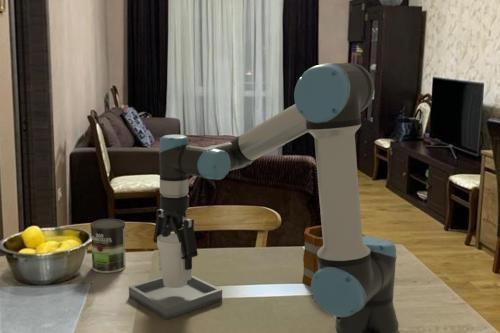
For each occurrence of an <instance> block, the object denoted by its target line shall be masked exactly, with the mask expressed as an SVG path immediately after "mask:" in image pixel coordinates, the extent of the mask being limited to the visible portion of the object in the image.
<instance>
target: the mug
mask: <svg viewBox="0 0 500 333" xmlns="http://www.w3.org/2000/svg"><path fill="white" fill-rule="evenodd" d="M362 236H365V235H364V234H362ZM303 237H304V248H303V249H304V250H303V257H302V258H303V262H302V263H303V275H302V281H301V283H302V284H304V285H306V286H308V287H310V288H311V281H312V278H313V276H314V274H315V273H316V272H317V271H318V259H317V252H318V250H319V249H320V248H321V247H322V246H323V236H322V224H321V225H315V226H311V227H310V226H309V227H306V228H305V230H304V233H303Z"/></svg>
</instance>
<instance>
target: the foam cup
mask: <svg viewBox="0 0 500 333" xmlns="http://www.w3.org/2000/svg"><path fill="white" fill-rule="evenodd" d="M156 246H157V249H158V257H159V256H160V263H161V270H162V271H161V270H160V271H161V277H163V282H164V286H166V287H169V288H180V287H183V286H186V284H187V281H185V282H182V281H181V257H183V254H182V251H181V243H180V242H179V240H178V237H177V234H175V233H174V231H171V234H170V235H169V236H167V237H163V235H162V234H161V235H159V236H158V237H157V243H156Z"/></svg>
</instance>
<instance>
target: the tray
mask: <svg viewBox="0 0 500 333" xmlns="http://www.w3.org/2000/svg"><path fill="white" fill-rule="evenodd" d="M128 297H129V298H130V299H131V300H133V301H134V302H136V303H138V304H140V305H141V306H143V307H144V308H147V309H149V311H152V312H153V313H155V314H156V315H158V316H160V317H162V318H163V319H165V320H171V319H173V318H176V317H179V316H181V315H185V314H187V313H189V312H193V311H195V310H198V309H201V308H203V307H206V306H209V305H212V304H214V303H215V304H216V303H218V302H221V301H223V289H221V288H220V287H217V286H215V285H213V284H211V283H209V282H207V281H205V280H203V279H201V278H199V277H196V275H195V276H194V275H193V274H191V280H188V281H187V284H186V286H183V287H180V288H169V287H166V286H164V282H163V277H162V276H160V277H157V278H153V279H150V280H147V281H146V280H145V281H144V282H139V283H137V284H133V285H130V286H128Z"/></svg>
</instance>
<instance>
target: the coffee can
mask: <svg viewBox="0 0 500 333" xmlns="http://www.w3.org/2000/svg"><path fill="white" fill-rule="evenodd" d="M90 229H91V230H90V236H91V237H92V239H93V240H92V242H91V264H92V266H91V268H92V270H93V271H94V272H96V273H99V274H101V273H102V274H115V273H117V272H121V271H124V270H125V269H126V268H127V263H126V260H127V259H126V222H125V220H122V219H118V218H103V219H97V220H94V221H92V222H91V223H90Z"/></svg>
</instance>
